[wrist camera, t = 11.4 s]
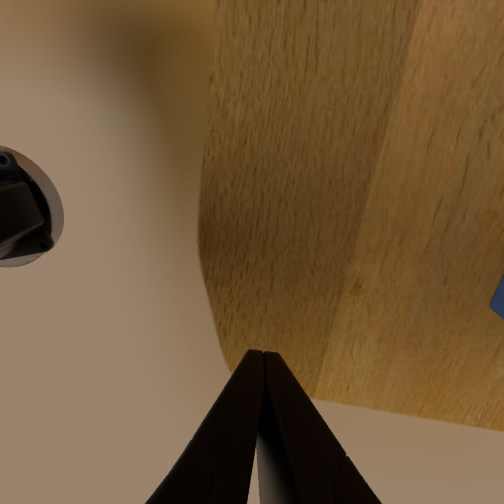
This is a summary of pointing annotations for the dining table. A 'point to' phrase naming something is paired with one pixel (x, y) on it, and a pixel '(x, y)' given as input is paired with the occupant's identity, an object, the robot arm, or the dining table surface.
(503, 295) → the blue capped box
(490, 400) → the dining table surface
